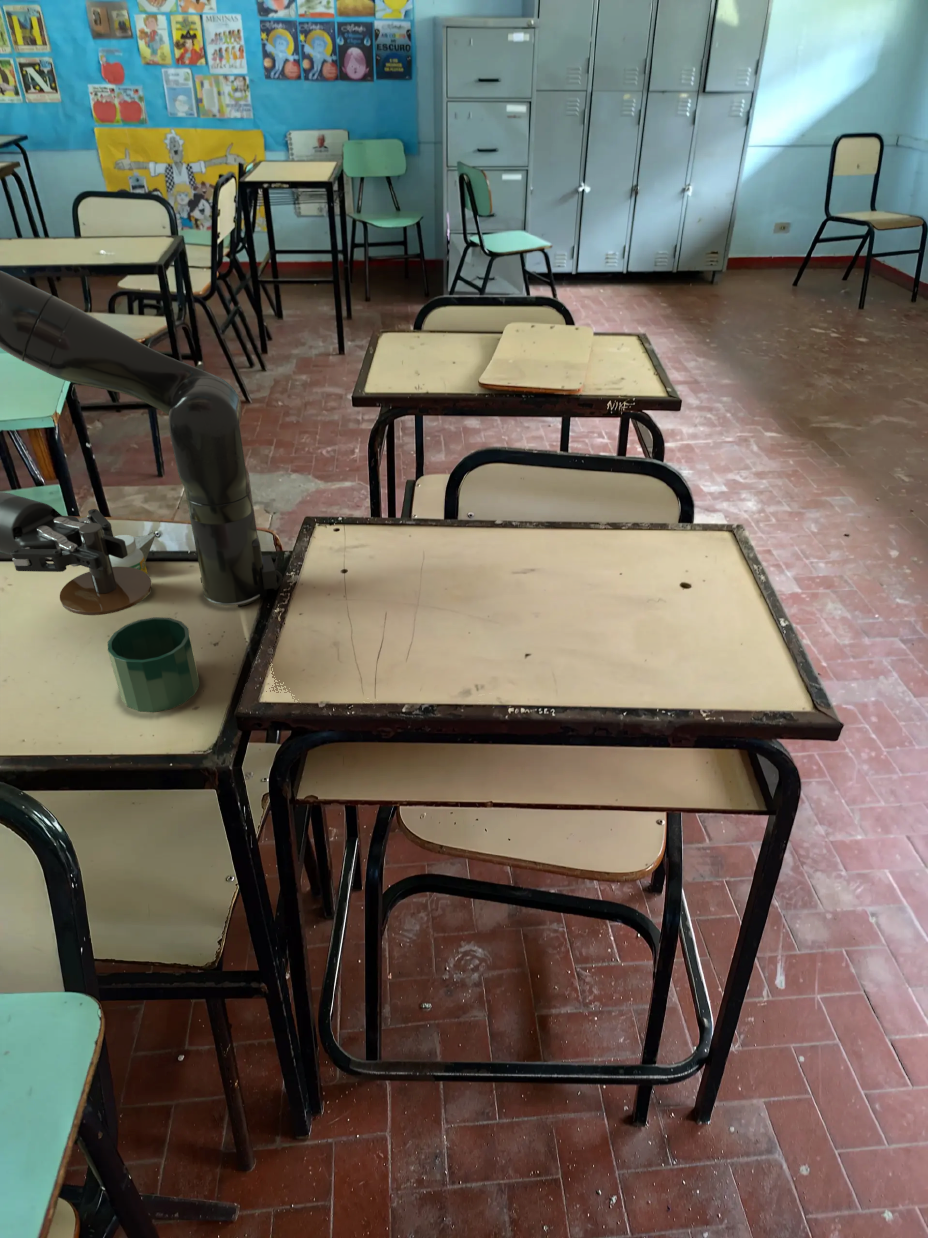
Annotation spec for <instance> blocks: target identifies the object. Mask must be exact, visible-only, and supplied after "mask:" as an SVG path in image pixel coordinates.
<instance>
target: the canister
mask: <svg viewBox="0 0 928 1238" xmlns="http://www.w3.org/2000/svg"><path fill="white" fill-rule="evenodd" d="M192 644H193V643H192V639H191V634H190V629H189V627H188V626H187V625H186V624H185V623H183V622H182V621H181V620H178V619H175V618H172V617H162V616H161V617H160V616H154V617H147V618H141V619H138V620H136V621H133V622H129V623H127V624H125V625H123V626H122V627H120V628H119V629H118V630H116V631H115V632H113V633H112V635H111V636H110V638H109V639H108V641H107V653H108V656H109V660H110V663H111V668H112V670H113V674H114V678H115V682H116V686H117V689H118V693H119V696H120V700H121V701H122V702H123V704H124V705H125V706H126V707H127V708H129V709H132V710H134V711H136V712H140V713H141V712H142V713H159V712H163V711H169V710H172V709H174V708H176V707H178V706H181V705H183V704H185V703H186V702H188V700H191V698H193V696H195V694H196V692H197V691H198V689H199V687H200V679H199V678H200V677H199V673H198V668H197V662H196V658H195V654H194V648H193V645H192Z"/></svg>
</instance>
